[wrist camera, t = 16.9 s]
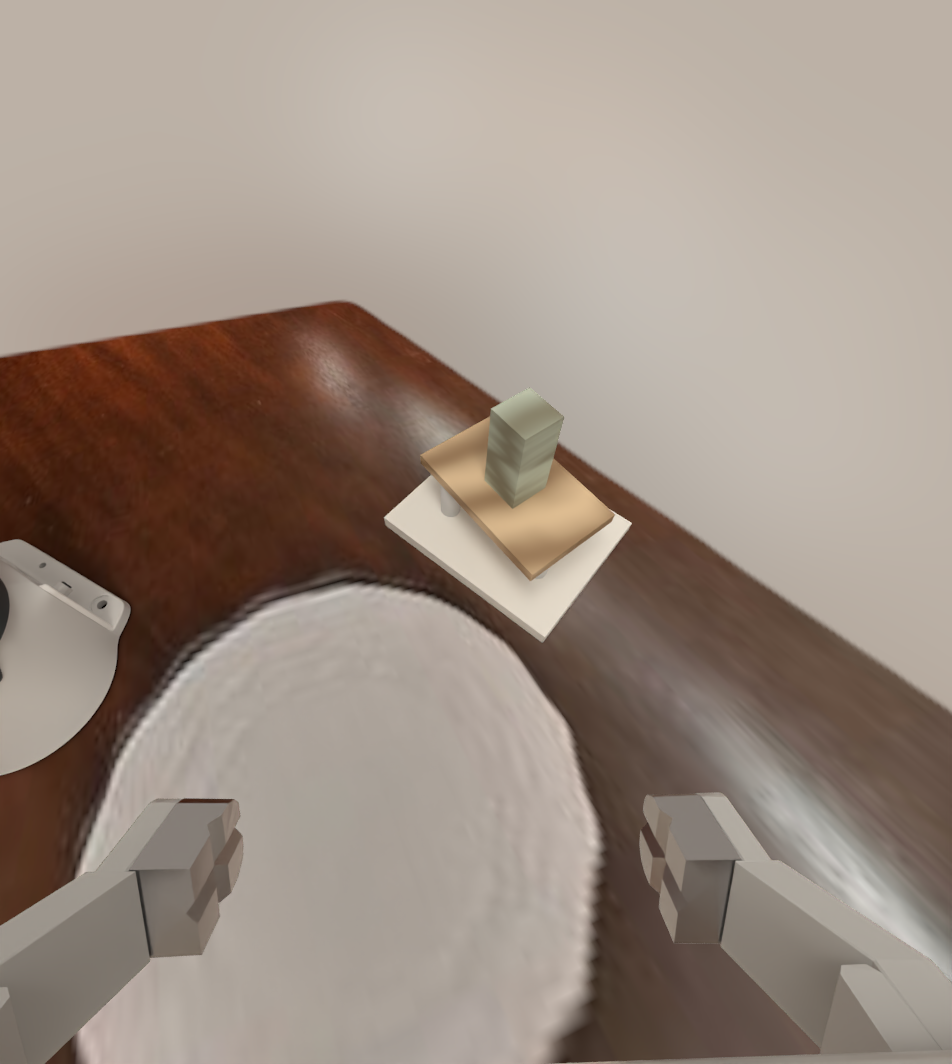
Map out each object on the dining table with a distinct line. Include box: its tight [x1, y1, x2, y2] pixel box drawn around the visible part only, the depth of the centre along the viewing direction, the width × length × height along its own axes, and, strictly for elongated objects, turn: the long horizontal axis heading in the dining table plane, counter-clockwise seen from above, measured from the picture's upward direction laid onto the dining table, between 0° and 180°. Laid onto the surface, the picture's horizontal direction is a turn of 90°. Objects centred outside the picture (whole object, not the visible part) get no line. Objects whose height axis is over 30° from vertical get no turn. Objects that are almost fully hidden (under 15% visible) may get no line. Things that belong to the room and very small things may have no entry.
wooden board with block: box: [420, 388, 615, 581], centre depth 43 cm, size 16×10×10 cm, turn 38°
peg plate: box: [384, 475, 632, 643], centre depth 50 cm, size 20×16×6 cm
